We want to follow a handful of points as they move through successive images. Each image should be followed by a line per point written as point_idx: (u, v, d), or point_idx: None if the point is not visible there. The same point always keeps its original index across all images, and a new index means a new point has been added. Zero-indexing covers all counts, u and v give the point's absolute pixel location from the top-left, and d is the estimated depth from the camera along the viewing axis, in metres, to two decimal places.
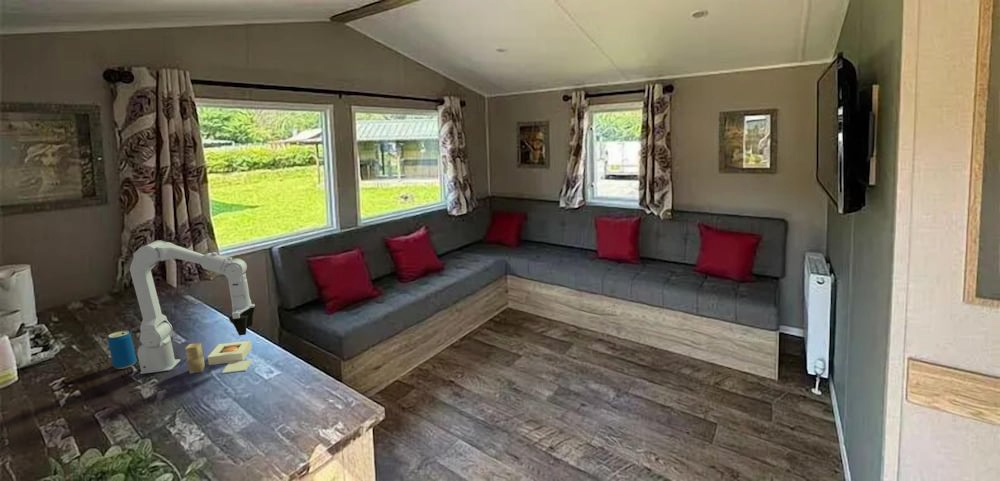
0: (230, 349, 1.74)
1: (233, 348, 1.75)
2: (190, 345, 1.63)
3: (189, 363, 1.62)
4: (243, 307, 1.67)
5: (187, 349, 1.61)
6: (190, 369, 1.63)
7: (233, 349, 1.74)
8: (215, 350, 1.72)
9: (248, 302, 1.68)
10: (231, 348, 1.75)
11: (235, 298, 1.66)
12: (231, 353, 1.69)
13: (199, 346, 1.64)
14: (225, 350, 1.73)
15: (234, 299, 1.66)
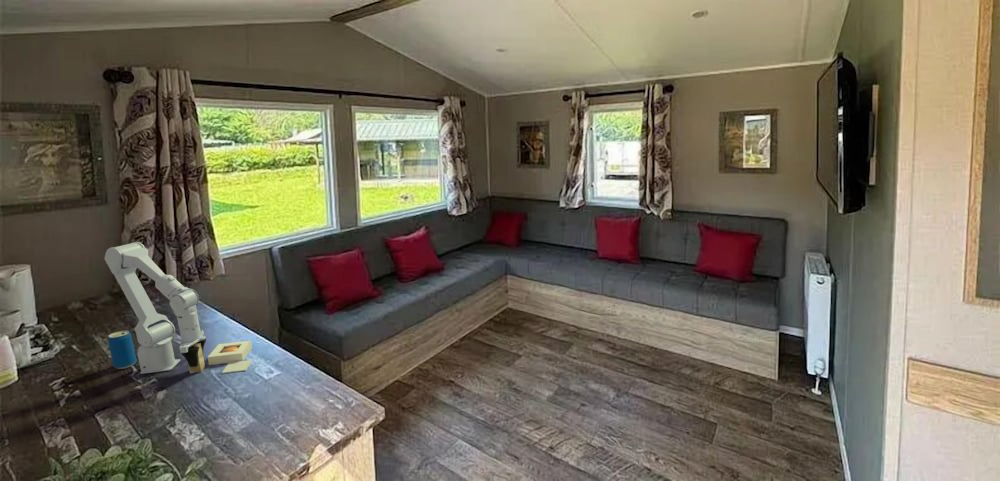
0: (230, 349, 1.74)
1: (233, 348, 1.75)
2: None
3: None
4: (192, 340, 1.60)
5: None
6: (190, 369, 1.63)
7: (233, 349, 1.74)
8: (215, 350, 1.72)
9: (198, 334, 1.62)
10: (231, 348, 1.75)
11: (183, 331, 1.59)
12: (231, 353, 1.69)
13: (199, 346, 1.64)
14: (225, 350, 1.73)
15: (182, 332, 1.59)
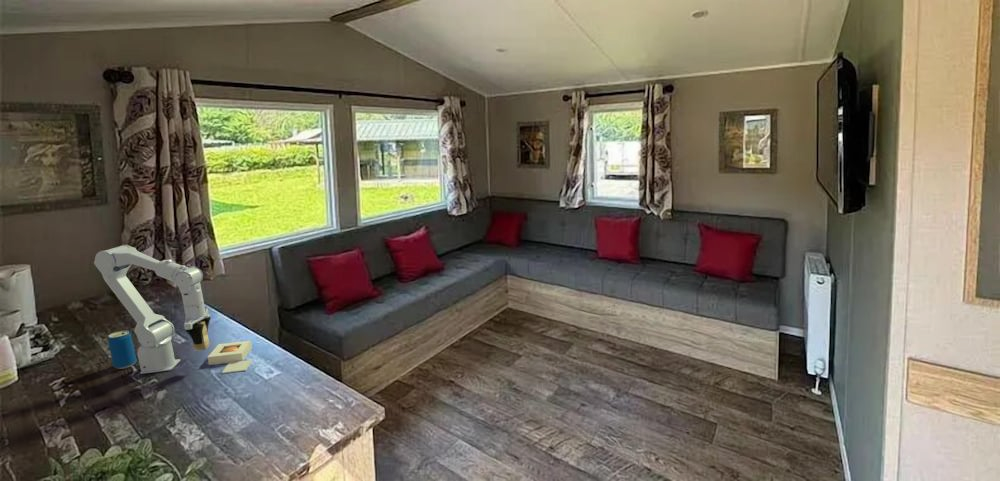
0: (230, 349, 1.74)
1: (233, 348, 1.75)
2: None
3: None
4: (197, 317, 1.61)
5: None
6: (194, 347, 1.63)
7: (233, 349, 1.74)
8: (215, 350, 1.72)
9: (202, 312, 1.62)
10: (231, 348, 1.75)
11: (188, 308, 1.59)
12: (231, 353, 1.69)
13: None
14: (225, 350, 1.73)
15: (187, 309, 1.59)
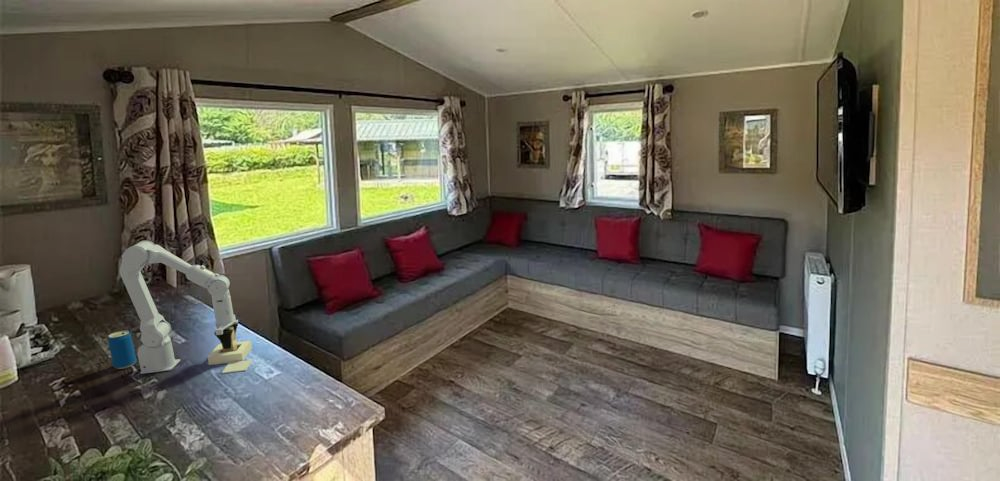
0: None
1: None
2: None
3: None
4: (226, 323, 1.69)
5: None
6: (224, 351, 1.72)
7: None
8: (215, 350, 1.72)
9: (231, 318, 1.71)
10: None
11: (218, 314, 1.68)
12: (231, 353, 1.69)
13: (232, 329, 1.73)
14: None
15: (217, 315, 1.68)
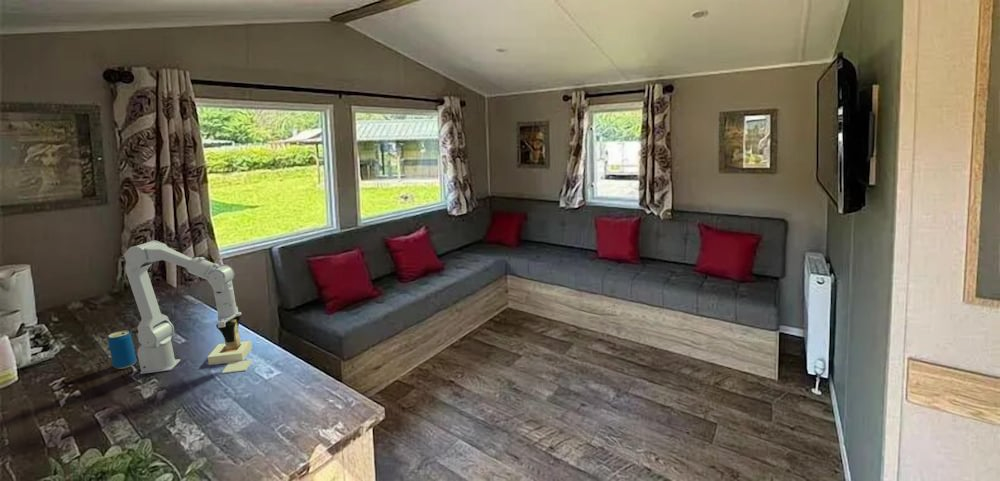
0: None
1: None
2: None
3: None
4: (229, 315, 1.61)
5: None
6: (226, 345, 1.64)
7: None
8: (215, 350, 1.72)
9: (234, 310, 1.63)
10: (231, 351, 1.75)
11: (221, 306, 1.60)
12: (231, 353, 1.69)
13: None
14: None
15: (219, 307, 1.60)
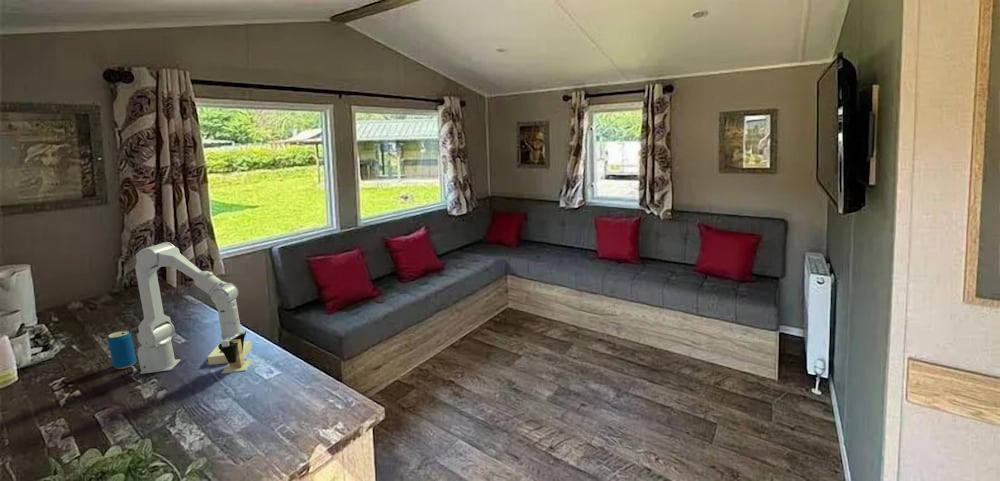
0: None
1: None
2: None
3: None
4: (233, 334, 1.61)
5: None
6: (230, 365, 1.64)
7: None
8: (215, 350, 1.72)
9: (238, 329, 1.62)
10: None
11: (224, 325, 1.60)
12: None
13: (239, 342, 1.65)
14: None
15: (223, 326, 1.60)
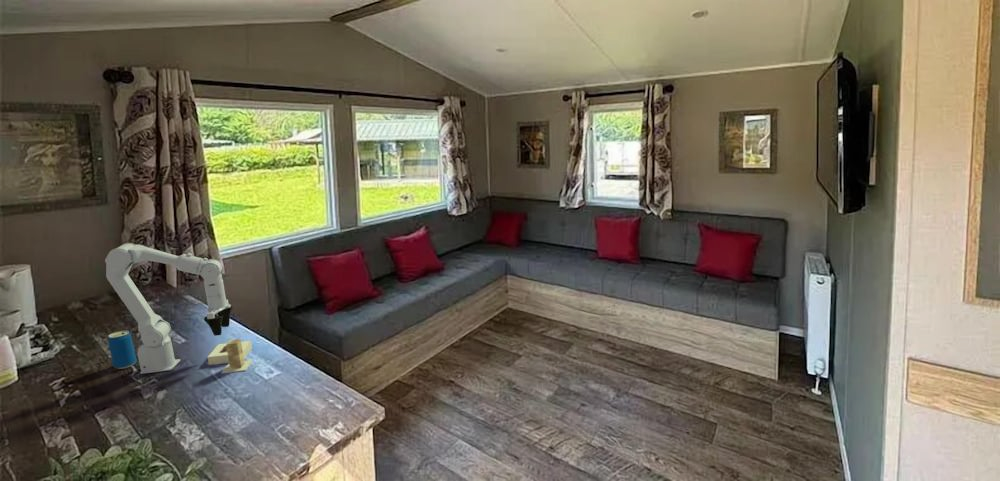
0: None
1: None
2: (230, 341, 1.64)
3: (230, 359, 1.63)
4: (218, 307, 1.68)
5: (228, 345, 1.62)
6: (230, 365, 1.64)
7: None
8: (215, 350, 1.72)
9: (224, 302, 1.69)
10: None
11: (210, 298, 1.67)
12: None
13: (239, 342, 1.65)
14: None
15: (209, 299, 1.67)
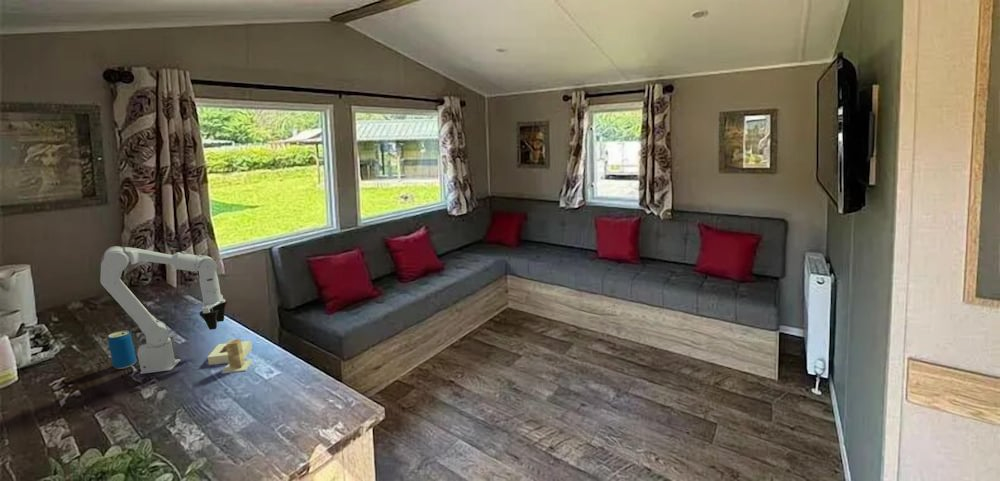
0: None
1: None
2: (230, 341, 1.64)
3: (230, 359, 1.63)
4: (213, 302, 1.72)
5: (228, 345, 1.62)
6: (230, 365, 1.64)
7: None
8: (215, 350, 1.72)
9: (219, 297, 1.74)
10: None
11: (205, 293, 1.71)
12: None
13: (239, 342, 1.65)
14: None
15: (204, 294, 1.71)
